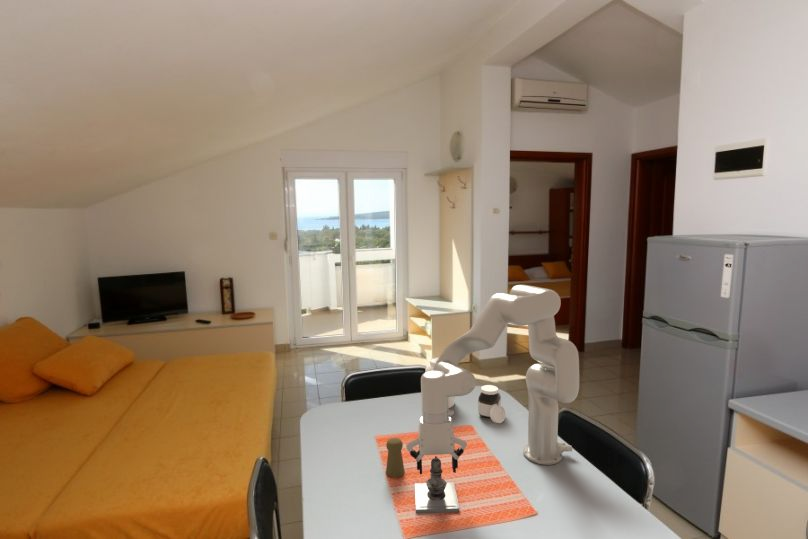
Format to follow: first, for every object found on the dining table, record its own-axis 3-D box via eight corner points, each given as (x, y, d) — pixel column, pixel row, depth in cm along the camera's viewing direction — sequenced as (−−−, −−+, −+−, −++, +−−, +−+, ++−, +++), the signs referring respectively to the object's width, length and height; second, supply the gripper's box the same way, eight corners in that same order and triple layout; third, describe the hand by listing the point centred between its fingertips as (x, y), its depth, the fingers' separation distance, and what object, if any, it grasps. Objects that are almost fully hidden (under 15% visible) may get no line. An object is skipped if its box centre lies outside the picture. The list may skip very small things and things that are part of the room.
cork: (390, 479, 140) (389, 446, 139) (382, 470, 145) (381, 438, 144) (407, 474, 143) (407, 441, 141) (399, 465, 148) (398, 433, 147)
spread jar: (486, 408, 189) (486, 382, 188) (511, 415, 182) (512, 388, 181) (473, 419, 179) (473, 391, 178) (499, 427, 173) (499, 398, 171)
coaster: (454, 485, 136) (454, 482, 136) (459, 511, 124) (459, 507, 124) (414, 486, 136) (414, 483, 136) (416, 512, 124) (415, 509, 124)
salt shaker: (445, 502, 127) (445, 462, 125) (424, 500, 128) (424, 460, 126) (447, 489, 132) (447, 451, 131) (427, 487, 134) (427, 449, 132)
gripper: (463, 407, 131) (465, 462, 133) (404, 410, 131) (407, 464, 133) (467, 419, 123) (469, 477, 126) (405, 422, 123) (407, 480, 126)
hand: (437, 470), depth 129 cm, fingers open, 9 cm apart
